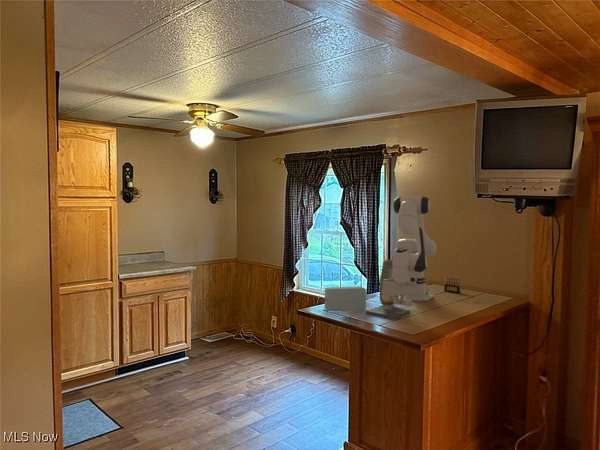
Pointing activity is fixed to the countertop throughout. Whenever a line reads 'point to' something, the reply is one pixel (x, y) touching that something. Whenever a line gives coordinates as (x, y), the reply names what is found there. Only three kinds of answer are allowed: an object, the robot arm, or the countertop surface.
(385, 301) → the gold knob with bar
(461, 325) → the countertop surface
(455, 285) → the ammunition clip
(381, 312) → the plate
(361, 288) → the bar with end hole
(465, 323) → the countertop surface
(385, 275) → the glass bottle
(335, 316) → the countertop surface
